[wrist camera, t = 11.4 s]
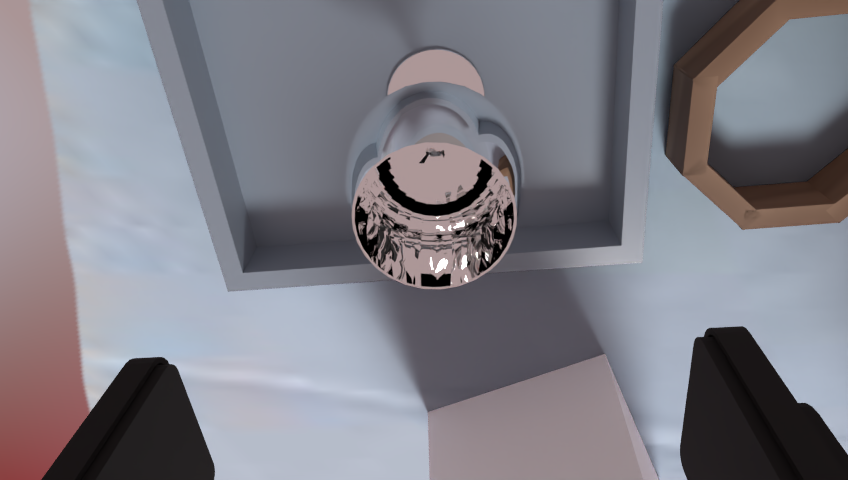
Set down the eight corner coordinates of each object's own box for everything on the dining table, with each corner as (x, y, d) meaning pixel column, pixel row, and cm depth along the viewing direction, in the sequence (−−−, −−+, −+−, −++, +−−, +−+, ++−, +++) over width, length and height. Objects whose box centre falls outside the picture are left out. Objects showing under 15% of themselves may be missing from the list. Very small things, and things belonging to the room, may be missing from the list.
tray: (623, 227, 32) (642, 262, 28) (248, 255, 33) (228, 291, 30) (645, -133, 24) (674, -138, 21) (154, -74, 25) (114, -70, 22)
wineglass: (434, 2, 26) (430, 74, 15) (526, 96, 27) (581, 218, 17) (346, 100, 28) (289, 222, 17) (437, 181, 30) (436, 336, 19)
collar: (876, 194, 30) (909, 218, 28) (659, 211, 31) (675, 234, 29) (941, -36, 25) (987, -29, 23) (679, -8, 26) (701, 0, 24)
